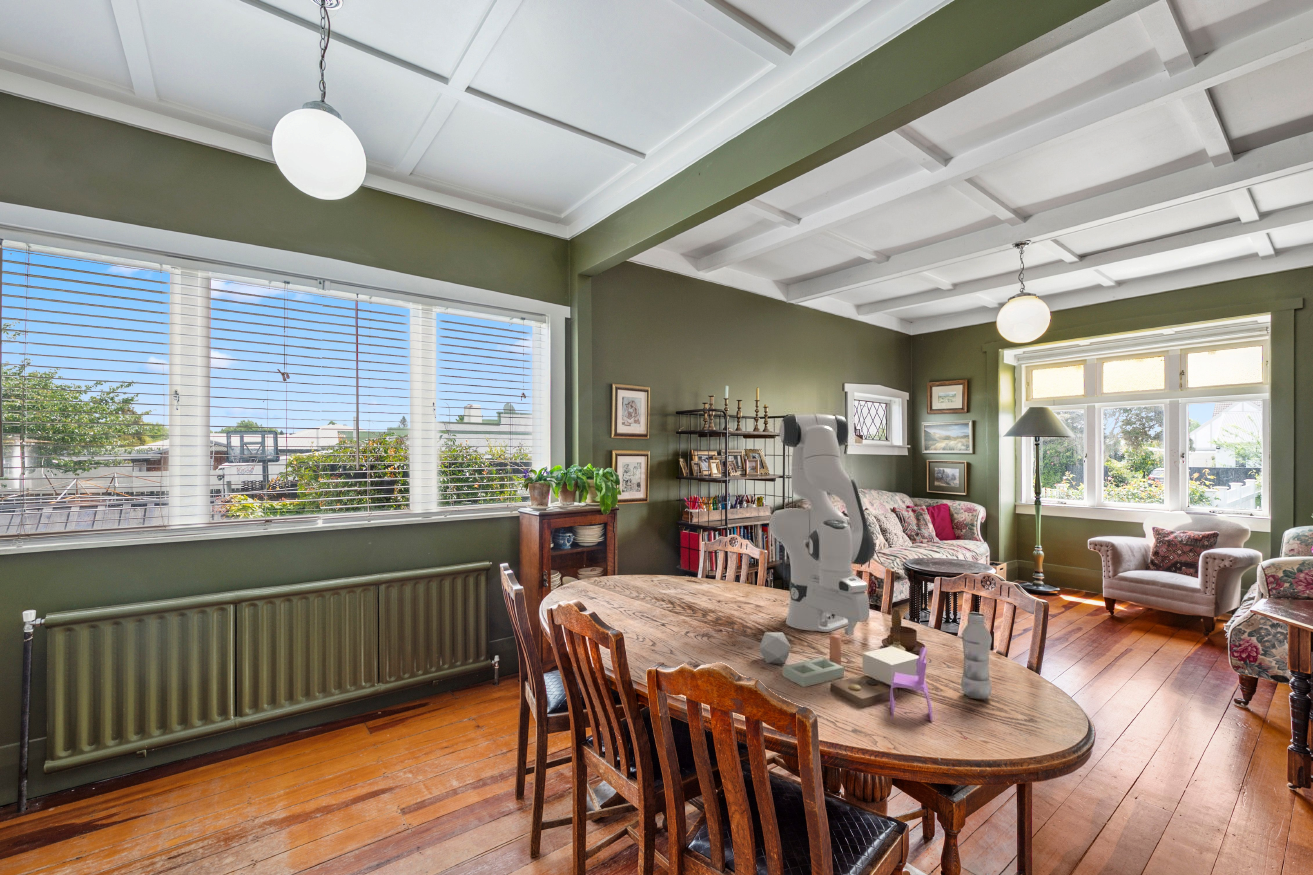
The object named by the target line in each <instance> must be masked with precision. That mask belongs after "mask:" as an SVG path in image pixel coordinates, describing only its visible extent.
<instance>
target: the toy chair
mask: <svg viewBox="0 0 1313 875" xmlns="http://www.w3.org/2000/svg"><path fill="white" fill-rule="evenodd" d="M927 651H928V648H927V647H926V646H925V647H922V648H921V650H920V653H918V656H919V658H918V660H917V663H916V666H917V670H916V673H917V674H918V676H912V675H906V674H902V673H896V672H895V676H894V678H893V680H892V685H890V686H891V690H890V699H889V701H890V702H889V703H890V711H891V714H892V715H893V716H894V714H895V709H896V701H895V698H894V697H893V688H901V689H911V690H915V691H919V692H922V693H923V694H924V695H925V699H926V704H927V709H928V714H929V719H930V722H931V723H933V716H934V714H933V712H934V711H933V708H932V703H931V700H930V694H929V688H928V687H929V686H928V683H927V682H926V679H925V678H926V669H927V663H928V662H927V659H925V658H926V655H927Z"/></svg>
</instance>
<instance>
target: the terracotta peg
mask: <svg viewBox="0 0 1313 875" xmlns="http://www.w3.org/2000/svg"><path fill="white" fill-rule="evenodd" d="M829 661H831V662H834V663H836V664H838V665H840V666H842V636H841V635H839V634H830V635H829Z"/></svg>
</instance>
